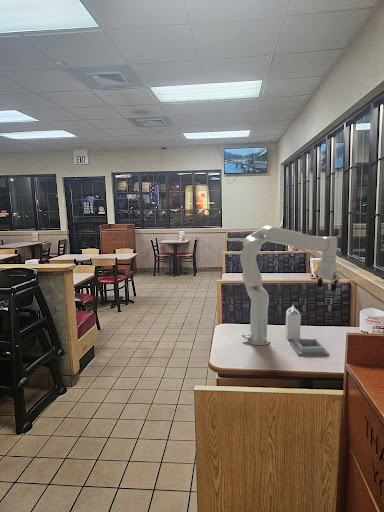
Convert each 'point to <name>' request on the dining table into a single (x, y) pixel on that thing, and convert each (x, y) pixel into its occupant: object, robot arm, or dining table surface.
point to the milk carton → (293, 323)
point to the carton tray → (308, 347)
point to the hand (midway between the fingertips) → (326, 288)
